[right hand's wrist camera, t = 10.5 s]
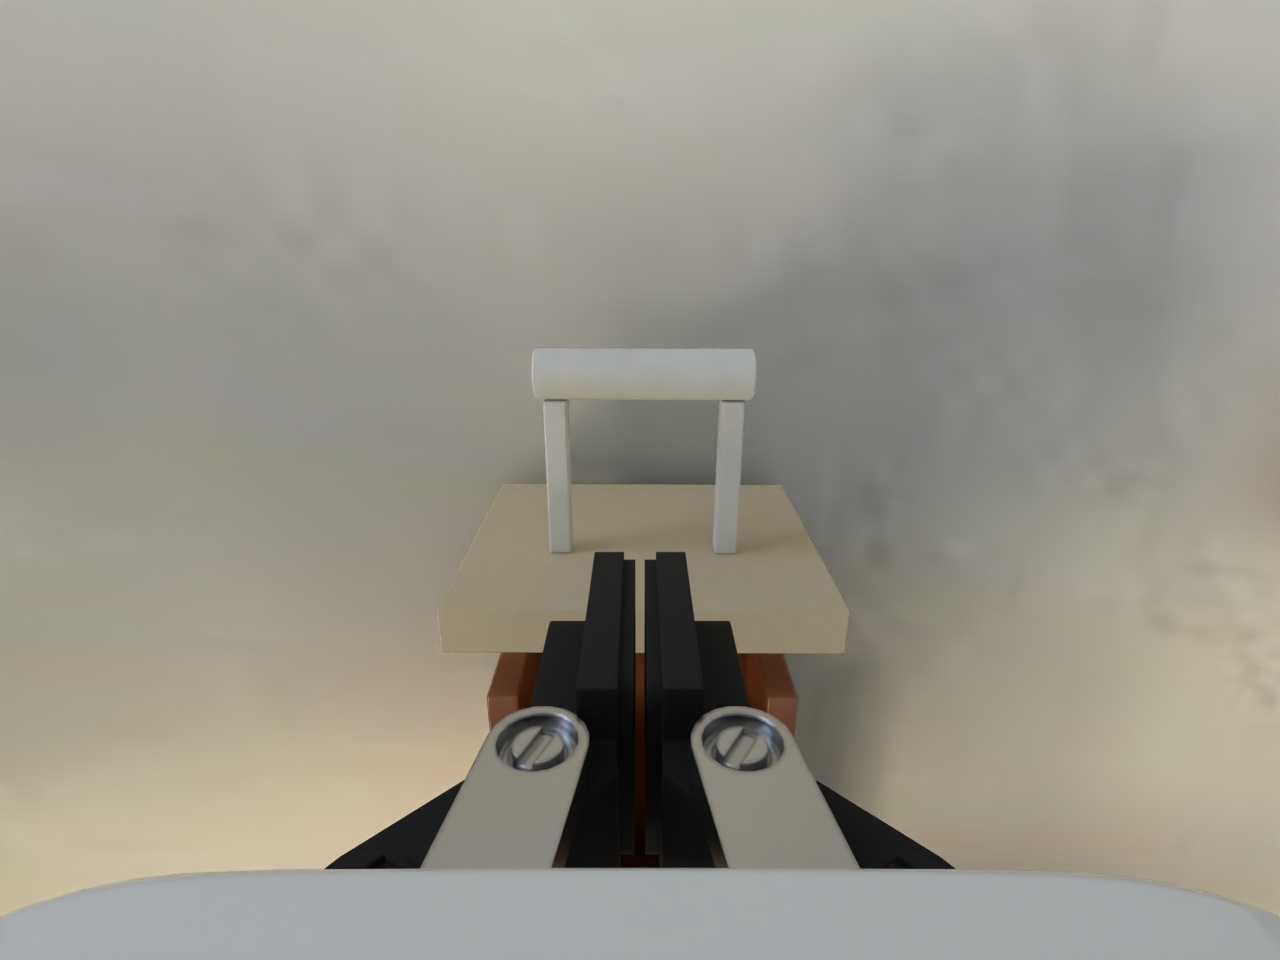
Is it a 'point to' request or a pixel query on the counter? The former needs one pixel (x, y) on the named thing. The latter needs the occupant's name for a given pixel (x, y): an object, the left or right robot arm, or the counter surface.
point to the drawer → (644, 545)
